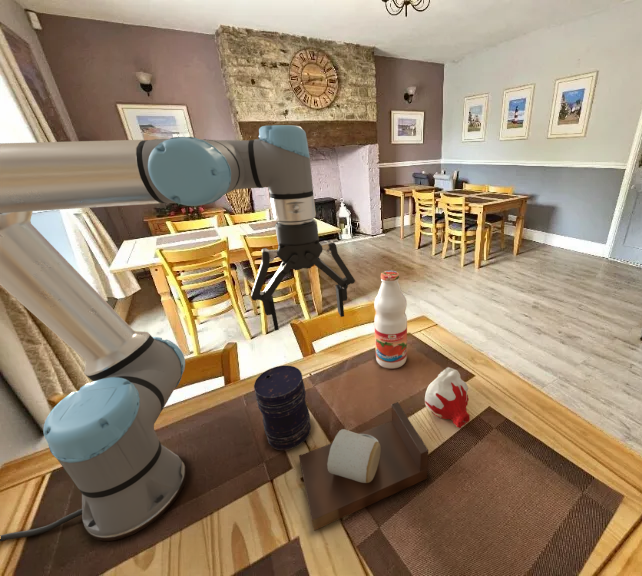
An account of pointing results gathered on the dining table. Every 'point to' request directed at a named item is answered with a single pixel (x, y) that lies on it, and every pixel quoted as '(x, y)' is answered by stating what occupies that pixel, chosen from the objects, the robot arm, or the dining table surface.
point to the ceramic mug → (354, 456)
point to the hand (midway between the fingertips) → (309, 320)
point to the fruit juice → (390, 322)
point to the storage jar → (283, 406)
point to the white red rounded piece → (448, 397)
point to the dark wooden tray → (391, 476)
